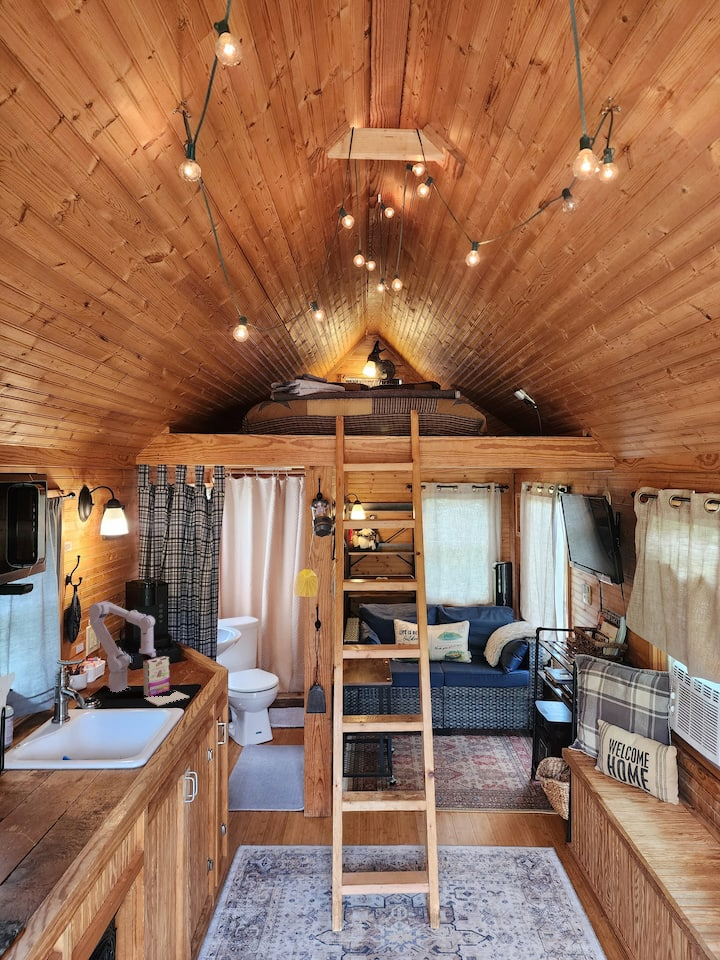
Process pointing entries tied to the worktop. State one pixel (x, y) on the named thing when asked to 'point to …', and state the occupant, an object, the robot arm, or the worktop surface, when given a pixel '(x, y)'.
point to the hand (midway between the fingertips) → (147, 669)
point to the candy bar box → (156, 676)
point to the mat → (166, 698)
